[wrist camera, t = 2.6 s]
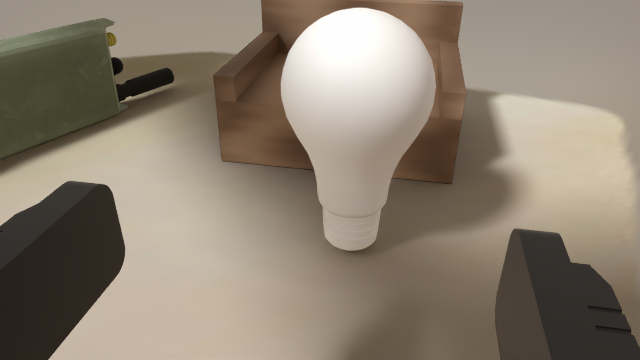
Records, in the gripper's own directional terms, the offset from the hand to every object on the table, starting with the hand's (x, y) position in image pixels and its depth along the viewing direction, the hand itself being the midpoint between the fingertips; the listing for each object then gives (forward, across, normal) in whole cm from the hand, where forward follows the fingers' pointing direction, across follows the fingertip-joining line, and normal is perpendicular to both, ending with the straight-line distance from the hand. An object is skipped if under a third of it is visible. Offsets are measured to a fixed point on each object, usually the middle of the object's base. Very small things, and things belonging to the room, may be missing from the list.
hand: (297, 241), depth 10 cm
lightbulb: (+12, 0, +9) cm, 15 cm away
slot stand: (+24, +2, +8) cm, 25 cm away
